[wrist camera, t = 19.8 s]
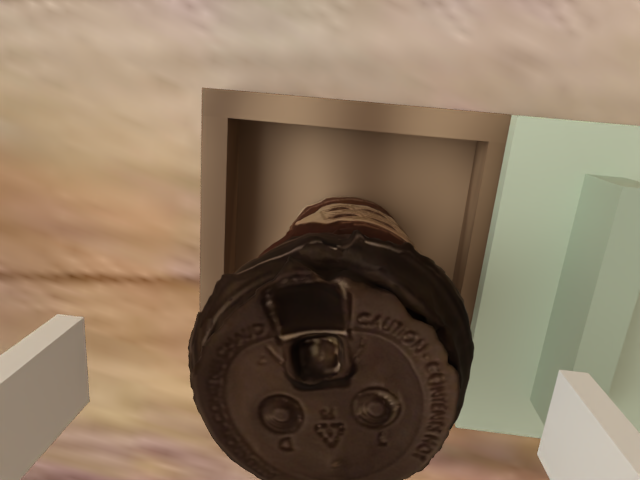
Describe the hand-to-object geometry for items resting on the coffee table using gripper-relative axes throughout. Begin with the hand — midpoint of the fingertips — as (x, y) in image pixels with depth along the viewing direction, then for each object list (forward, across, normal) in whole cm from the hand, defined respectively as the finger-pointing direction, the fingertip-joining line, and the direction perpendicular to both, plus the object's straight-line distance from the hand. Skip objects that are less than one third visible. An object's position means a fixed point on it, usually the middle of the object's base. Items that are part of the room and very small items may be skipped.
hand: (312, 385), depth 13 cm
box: (+13, +1, 0) cm, 13 cm away
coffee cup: (+12, +1, 0) cm, 13 cm away
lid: (+10, +14, 0) cm, 17 cm away
